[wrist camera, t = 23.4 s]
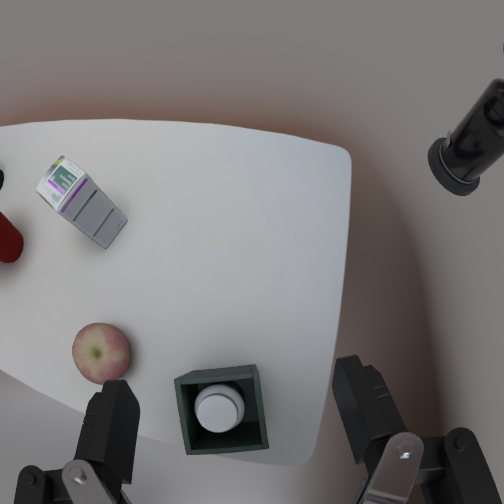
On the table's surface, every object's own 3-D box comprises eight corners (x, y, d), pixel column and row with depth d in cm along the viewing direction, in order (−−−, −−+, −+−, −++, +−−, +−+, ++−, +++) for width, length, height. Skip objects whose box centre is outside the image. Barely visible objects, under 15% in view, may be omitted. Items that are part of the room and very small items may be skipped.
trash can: (255, 364, 38) (258, 371, 28) (263, 423, 35) (269, 448, 25) (192, 370, 37) (173, 379, 27) (201, 429, 35) (186, 455, 25)
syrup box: (129, 219, 43) (88, 169, 30) (105, 251, 42) (55, 211, 28) (105, 202, 44) (62, 151, 30) (83, 231, 43) (32, 189, 29)
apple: (132, 388, 36) (108, 396, 29) (86, 369, 37) (56, 372, 29) (145, 334, 39) (123, 331, 31) (98, 318, 39) (70, 311, 31)
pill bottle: (243, 376, 37) (242, 386, 27) (247, 416, 35) (247, 437, 26) (201, 378, 36) (187, 389, 27) (205, 417, 35) (192, 439, 26)
